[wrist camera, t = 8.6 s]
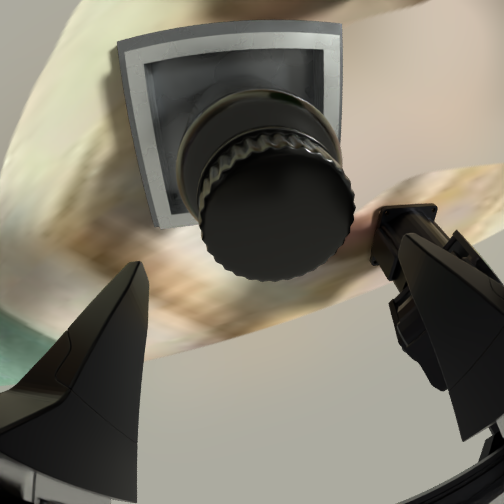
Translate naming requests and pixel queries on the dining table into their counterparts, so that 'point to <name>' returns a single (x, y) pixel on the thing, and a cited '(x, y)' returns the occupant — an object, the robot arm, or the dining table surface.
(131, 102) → the gray square tray
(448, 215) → the dining table surface
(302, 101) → the supplement bottle
